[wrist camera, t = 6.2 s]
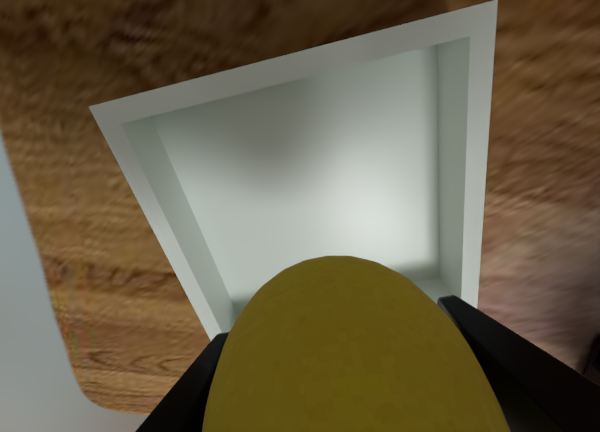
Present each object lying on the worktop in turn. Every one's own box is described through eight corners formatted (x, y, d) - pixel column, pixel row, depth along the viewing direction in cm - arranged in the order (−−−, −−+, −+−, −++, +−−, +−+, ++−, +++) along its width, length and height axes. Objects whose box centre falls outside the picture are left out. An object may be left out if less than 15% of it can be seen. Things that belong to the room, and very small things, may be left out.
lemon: (364, 170, 8) (1064, 1173, 1) (434, 300, 10) (789, 886, 3) (210, 258, 9) (-120, 920, 2) (301, 356, 11) (302, 856, 4)
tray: (451, 17, 11) (497, -1, 9) (448, 279, 17) (476, 316, 15) (132, 100, 13) (88, 106, 10) (231, 317, 19) (219, 357, 16)
